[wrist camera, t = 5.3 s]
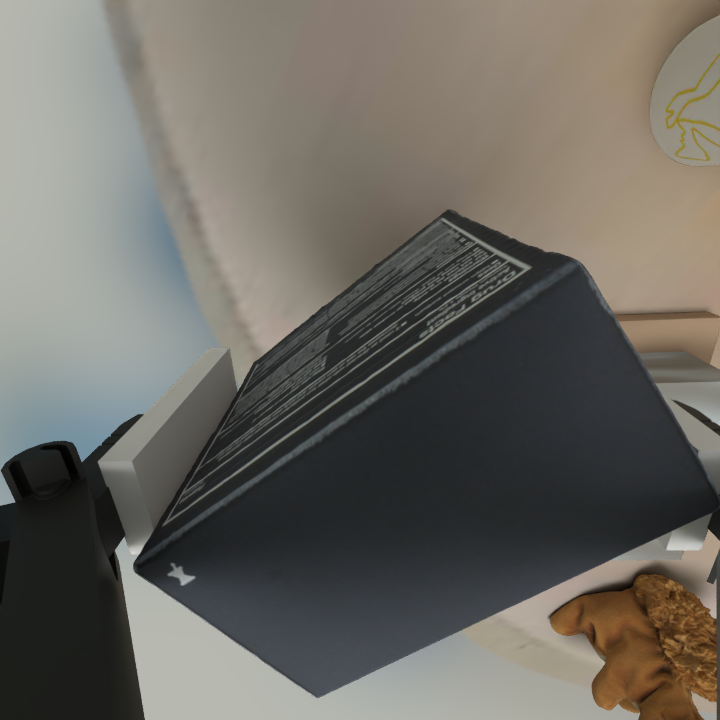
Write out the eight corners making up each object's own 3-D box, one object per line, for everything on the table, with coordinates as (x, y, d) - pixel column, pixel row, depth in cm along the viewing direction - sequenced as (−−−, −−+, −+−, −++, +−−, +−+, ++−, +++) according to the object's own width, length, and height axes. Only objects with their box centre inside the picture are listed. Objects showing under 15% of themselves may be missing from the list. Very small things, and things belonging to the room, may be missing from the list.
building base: (488, 319, 32) (515, 350, 26) (707, 311, 31) (788, 342, 25) (473, 523, 39) (491, 584, 33) (648, 521, 39) (699, 583, 33)
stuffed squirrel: (540, 619, 44) (604, 784, 32) (649, 539, 39) (772, 696, 27) (605, 658, 46) (688, 826, 34) (716, 586, 42) (857, 751, 29)
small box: (343, 460, 20) (315, 718, 11) (248, 363, 18) (107, 569, 9) (540, 332, 17) (748, 526, 8) (451, 201, 15) (579, 238, 6)
